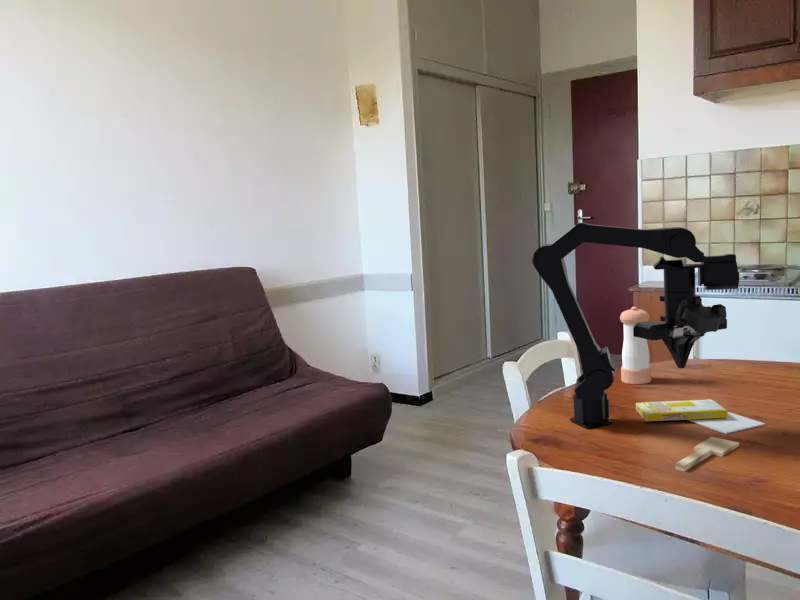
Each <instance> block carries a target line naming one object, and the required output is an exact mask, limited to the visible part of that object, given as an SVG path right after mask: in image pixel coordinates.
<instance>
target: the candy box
mask: <svg viewBox="0 0 800 600" xmlns="http://www.w3.org/2000/svg"><path fill="white" fill-rule="evenodd" d="M635 410H636V412H638V414H639V415H640V416H641V418H642V419H643V420H644V421H645V422H664V421H685V420H686V421H688V420H691V419H710V418H727V412H728V409H726V408H724V407H723V406H722V405H720V404H719V403H718V402H716V401H715V400H714V399H712V398H708V399H688V400H665V401H646V402H645V401H644V402H643V401H642V402H636V403H635Z"/></svg>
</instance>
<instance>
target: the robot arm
mask: <svg viewBox="0 0 800 600" xmlns="http://www.w3.org/2000/svg"><path fill="white" fill-rule="evenodd" d="M583 243H591V244H592V243H593V244H599V245H608V246H618V247H619V246H620V247H629V248H640V249H645V250H649V251H652V252H655V253H659V254H660V255H661V254H662V255H665V256H670V257H673V258H676V259H668V260H667V259H665V257H664V256H660V257H659V260H657V261H656V263H654V264H653V267H652V268H653V269H654V270H655V271H656V270H657V271H660V270H663V295H660V296H659V301H660V302H663V303H664V304H663V306H664V315H662V316H661V315H660V316H659V317H660V320H659V321H656V320H655V321H654V320H649V321H644V322H638V323H636V324H635V325H634V327H633V336H634V337H639V338H643V339H647V341H648V340H649V341H660V340H662V342H663V343H664V345H665V346H666V348H667V350H668V351H669V353H670V355H671V357H672V359H673V361H674V363H675V365H676V366H677V368H678V369H685V368H686V366H687V362H688V360H689V357H690V355H691V351H692V349H693V346H694V344H695V343H696V342H697V341H698V340H699V339H700V338H701V337H704V336H706V335H705V334H706V333H711V332H714V333H716V332H718V331H720V330H726V329H728V319H727V308H726V306H725V305H724V304H721V303H719V304H713V305H712V306H710V305H709V306H705V305H703V303H702V301H703V300H702V298H701V295H696V269H697V281H698V285H699V286H702V285H703V287H704V290H705V291H713V290H714V291H715V290H716V291H717V290H719V291H720V290H738V288H739V285H740V272H739V270H738V269H739V268H738V263H737V255H736V254H735V253H726V254H722V255H721V254H720V255H705V253H704V251H702V250H700V249H699V247H697V244H696V243H697V239H696V237H695V235H694V234H693V232H692V231H691V230H689V229H688V228H684V227H681V226H673V227H672V226H671V227H669V226H668V227H658V228H647V229H644V228H643V229H642V228H633V227H624V226H623V227H622V226H621V227H620V226H611V225H600V224H592V223H591V224H590V223H587V222H578V223H576V224H574V226H572V228H571V229H570V230H569V231H568V232H566V233H565V234H563V235H562V236H561V237H559V238H558V239H557V240H556V241H555V242H553V243H547V244H543V245H542V246H540V247H538V248H537V249H536V250H535V251H534V252H533V256H532V259H531V260H532V265H533V267H534V269H535V271H536V272H537V273H538V275H539V276H540V278H541V279H542V281H544V283H545V284H546V285H547V286H548V288H549V289H550V290H551V292H552V294H553V296H554V299H555V301H556V303H557V306H558V308H559V310H560V313H561V314H562V316H563V319H564V322H565V324H566V326H567V328H568V331H569V333H570V335H571V337H572V339H573V342H574V344H575V346H576V349H577V351H578V356H579V361H580V367H581V370H582V374H581V375H579V377H577V379H576V382H575V385H574V390H573V391H574V393H573V399H572V400H573V417H570V418H569V421H570V422H573V423H574V424H576V425H579V426H582V427H584V428H585V429H592V428H595V427H600V426H608V425H611V424H613V420H612V419H610V404H609V403H610V401H609V399H608V392H605V391H606V390H608V389H609V388H611V386H612V385H613V383H614V378H615V377H614V375H615V374H614V373H615V371H616V363H615V361H614V359H612V357H611V355H610V351H609V347H608V346H605V347H603V348H601V347H600V346H599V344H598V343H597V341H596V340H595V337H594V336H593V334H592V333H593V332H592V330H591V329H590V326H589V323H588V322H587V320H586V319H587V318H586V317H585V315H584V312H583V310H582V308H581V307H580V304H579V301H578V300H577V297H576V295H575V293H574V291H573V290H574V289H573V288H572V286H571V284H570V280H569V276H568V270H567V265H566V261H565V258H566V256H568V255H569V254H570V253H571V252H573V251H574V250H575V249H577V248H578V247H579V246H580V245H581V244H583ZM682 258H686V259H688V260H690V261H692V262H693V263H685V264H684V262H683V259H682Z"/></svg>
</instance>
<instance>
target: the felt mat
mask: <svg viewBox="0 0 800 600" xmlns="http://www.w3.org/2000/svg"><path fill="white" fill-rule="evenodd" d="M687 421H689V422H691V423H693V424H696V425H700V426H702V427H705V428H708V429H711V430H712V431H713V430H714V431H716V432H719V433H722V434H725V435H727V434H732V433H736V432H740V431H745V430H749V429H754V428H757V427H758V428H759V427H762V426H765V425H766V423H764V422H761V421H758V420H756V419H752V418H749V417H746V416H742V415H739V414H736V413H733V412H729V411H727V418H710V419H691V420H687Z"/></svg>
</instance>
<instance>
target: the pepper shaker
mask: <svg viewBox="0 0 800 600" xmlns="http://www.w3.org/2000/svg"><path fill="white" fill-rule="evenodd" d="M619 320H620V322H621V323H623V343H622V352H621V359H622V365H621V366H620V375H621V377H620V379H621V382H622V383H625V384H631V385H645V384H649V383H651V382H652V368H651V366H650V351H649V346H648V339H643V338H639V337H634V336H633V327H634V325H635V324H636V323H638V322H644V321H650V316H649V313H648V312H647V311H646V310H643V309H641V308H640V309H638V307H637V306H632V307H631V308H630V309H626V310H624V311H622V312H621V314H620V316H619Z"/></svg>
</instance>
